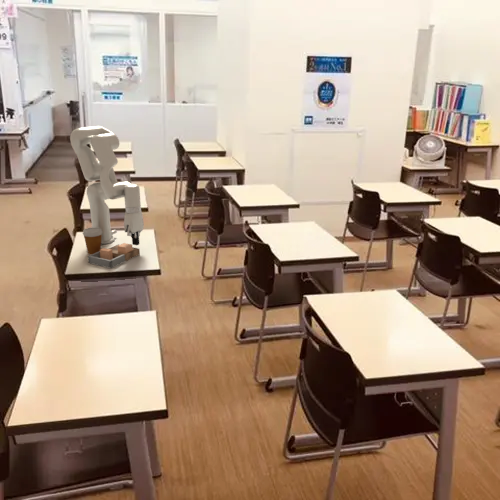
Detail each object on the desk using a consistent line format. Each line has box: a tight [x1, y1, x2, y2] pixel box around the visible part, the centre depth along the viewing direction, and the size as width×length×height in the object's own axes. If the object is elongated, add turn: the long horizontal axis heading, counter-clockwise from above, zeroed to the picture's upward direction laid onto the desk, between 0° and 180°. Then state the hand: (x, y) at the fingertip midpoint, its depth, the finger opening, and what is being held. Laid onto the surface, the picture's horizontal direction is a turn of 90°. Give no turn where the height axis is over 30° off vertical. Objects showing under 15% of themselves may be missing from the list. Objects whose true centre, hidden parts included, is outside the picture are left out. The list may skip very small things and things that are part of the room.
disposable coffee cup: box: [82, 227, 102, 255], centre depth 270 cm, size 10×10×12 cm
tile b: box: [118, 242, 133, 253], centre depth 266 cm, size 5×5×3 cm
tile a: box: [100, 247, 113, 260], centre depth 262 cm, size 5×5×3 cm
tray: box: [87, 251, 126, 269], centre depth 260 cm, size 10×14×4 cm
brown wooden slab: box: [108, 244, 140, 262], centre depth 269 cm, size 11×14×3 cm
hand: (135, 244), depth 273 cm, fingers closed
